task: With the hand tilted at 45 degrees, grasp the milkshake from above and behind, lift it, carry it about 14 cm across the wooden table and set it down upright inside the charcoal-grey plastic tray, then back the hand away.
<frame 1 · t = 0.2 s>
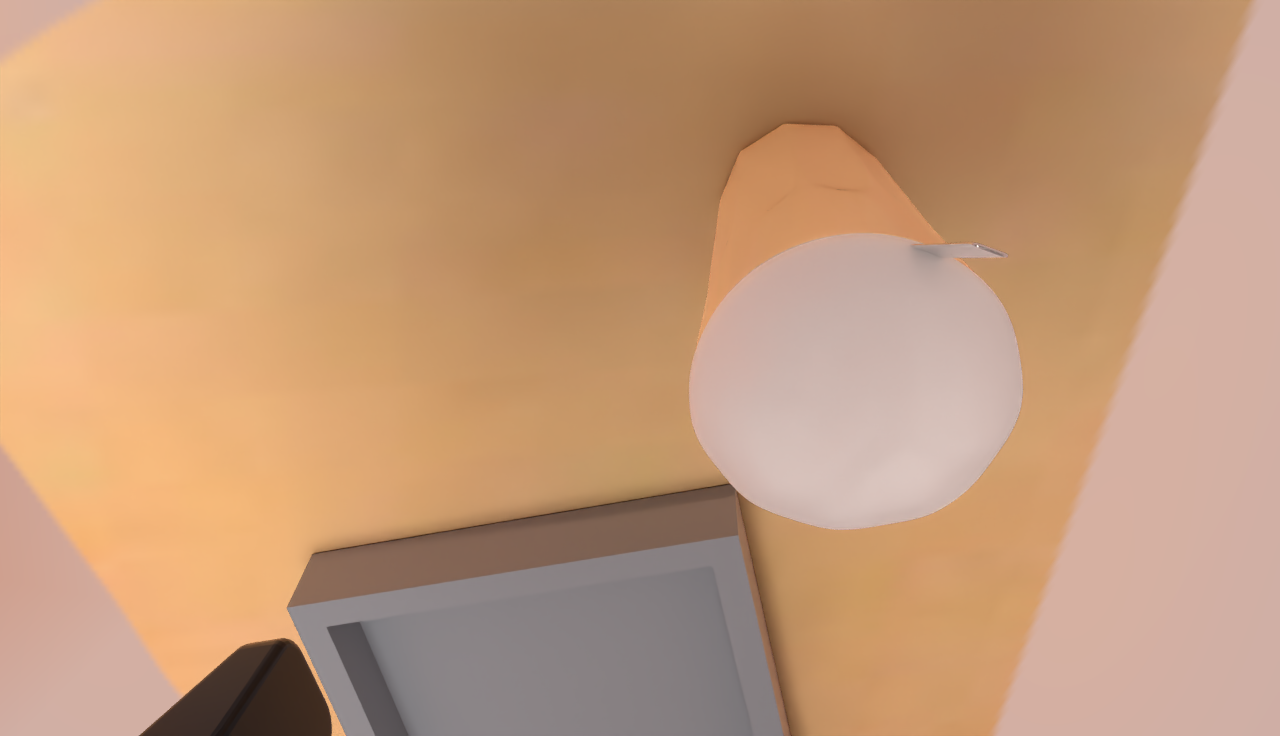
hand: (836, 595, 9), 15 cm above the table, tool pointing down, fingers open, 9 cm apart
milkshake: (809, 178, 23), on the table
tray: (572, 683, 29), on the table
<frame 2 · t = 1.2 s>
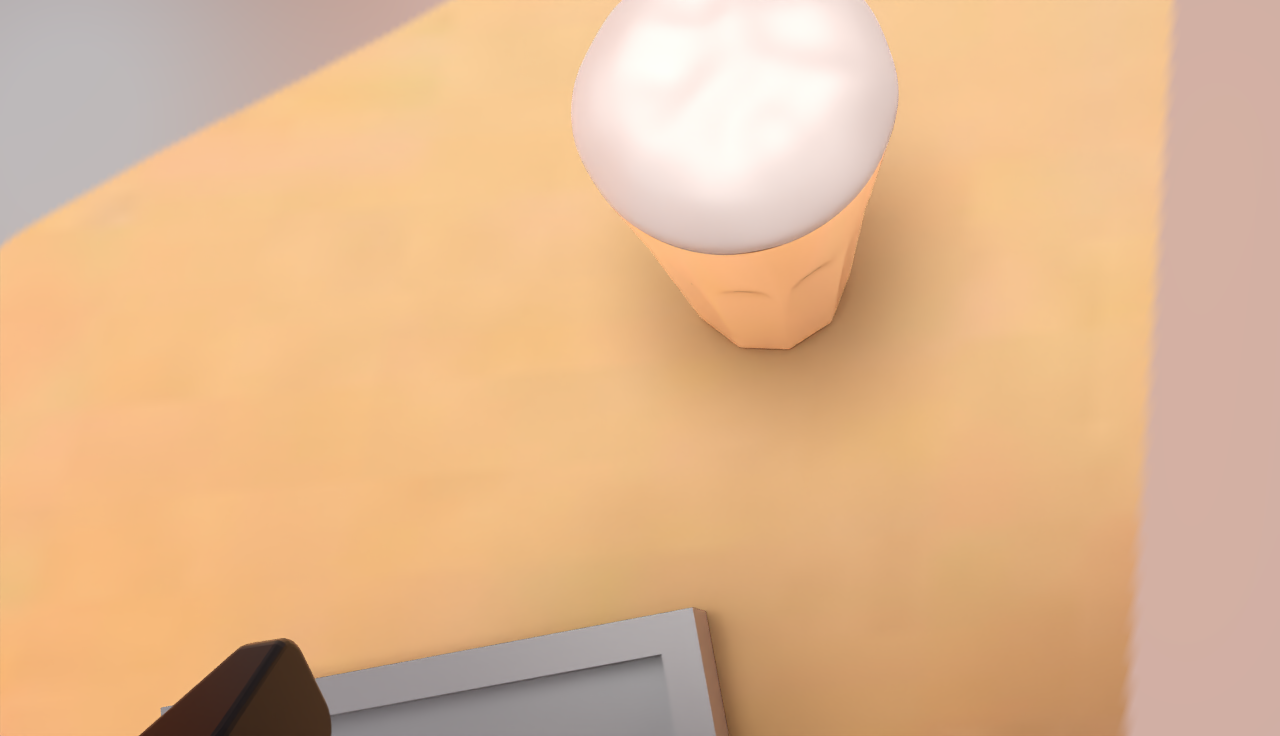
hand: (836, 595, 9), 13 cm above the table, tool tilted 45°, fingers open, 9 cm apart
milkshake: (776, 262, 24), on the table
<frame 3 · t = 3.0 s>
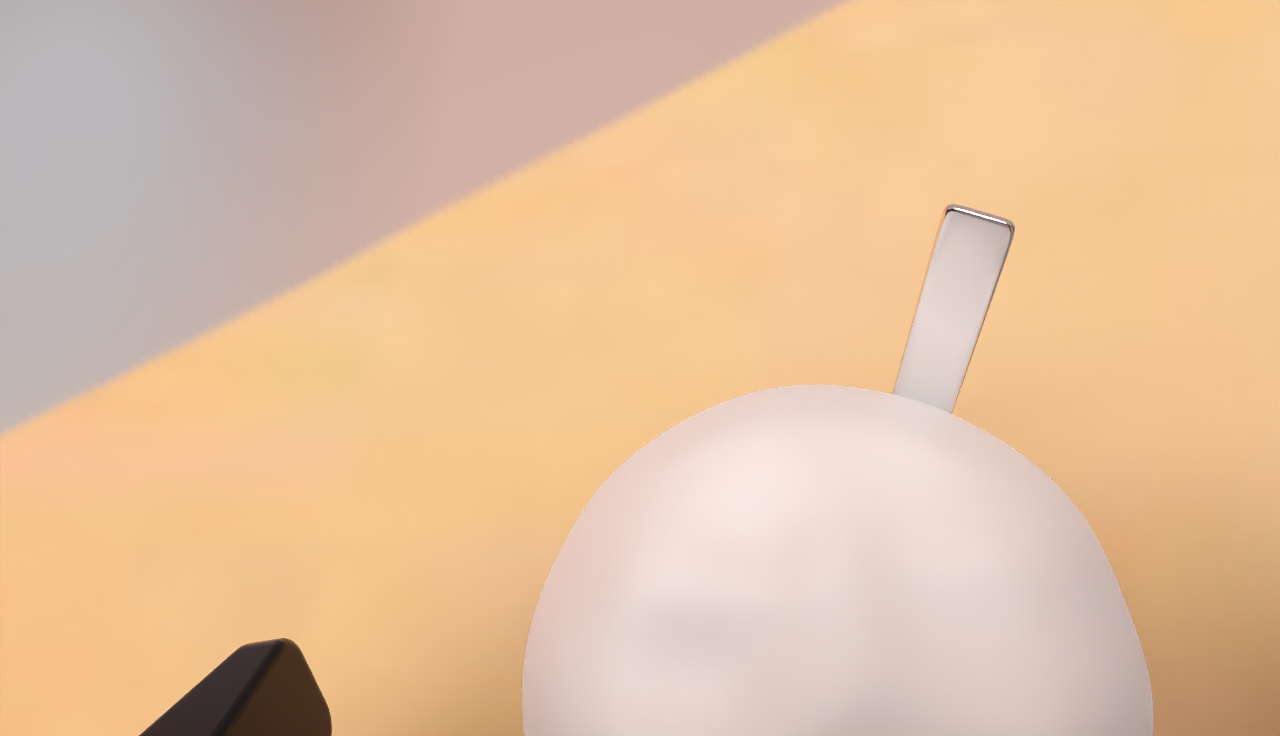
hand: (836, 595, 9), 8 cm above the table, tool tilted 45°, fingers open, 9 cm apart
milkshake: (848, 658, 16), on the table
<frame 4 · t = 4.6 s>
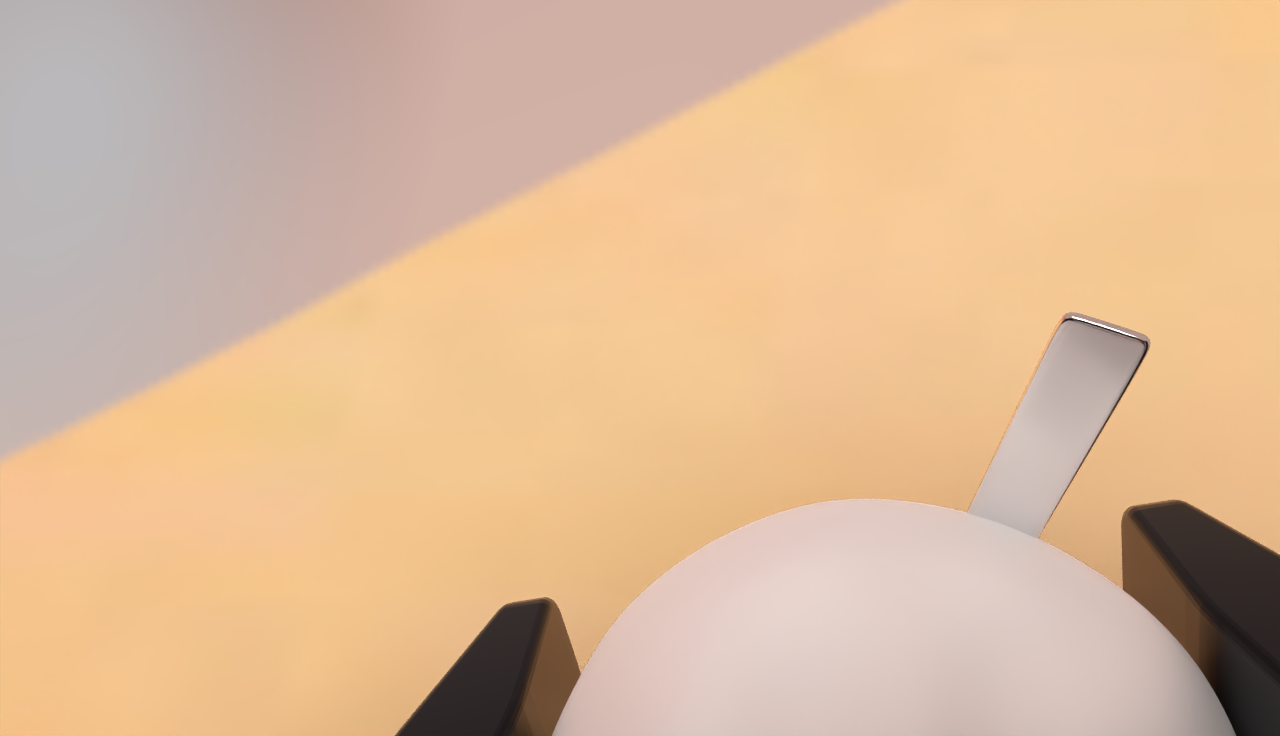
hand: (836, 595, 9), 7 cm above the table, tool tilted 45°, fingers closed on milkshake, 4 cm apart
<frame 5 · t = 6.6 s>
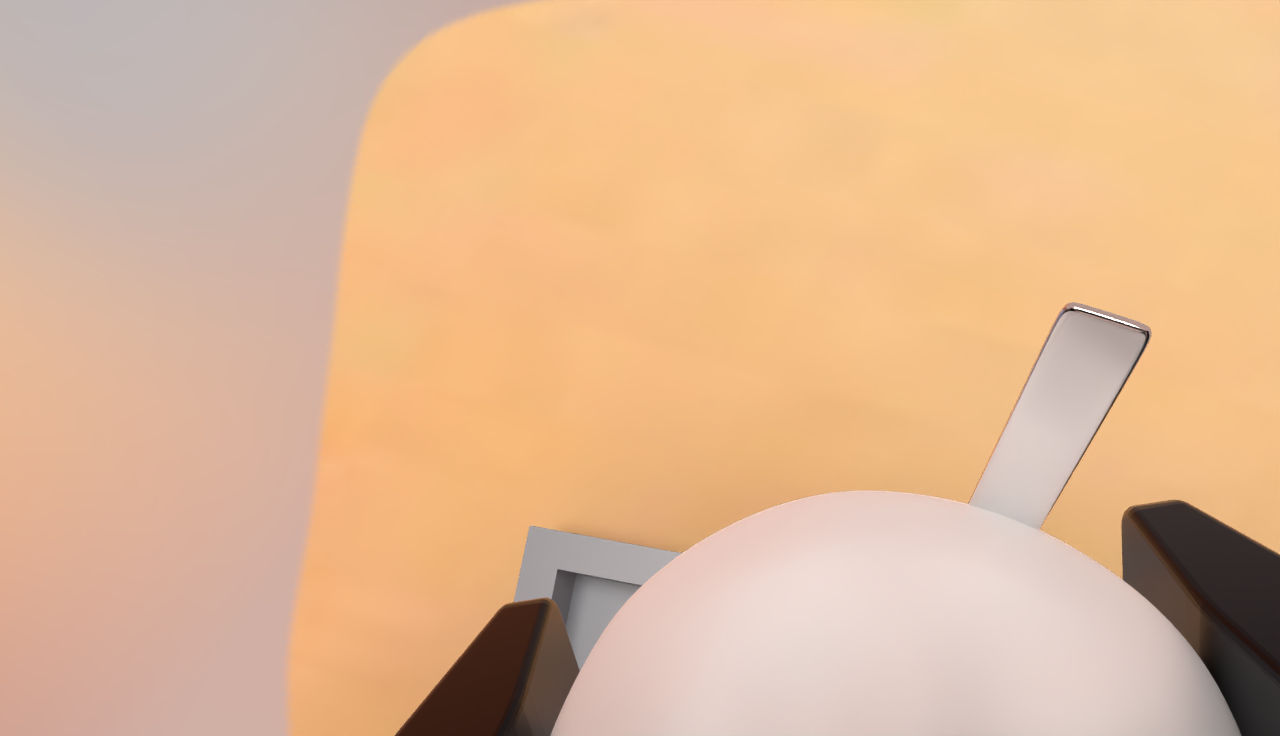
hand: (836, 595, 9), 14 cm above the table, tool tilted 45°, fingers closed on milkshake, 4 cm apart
milkshake: (865, 734, 15), point 7 cm above the table, touching gripper
when the fingers open (8 cm above the table, at t = 8.9 s): milkshake drops 1 cm, resting on tray.
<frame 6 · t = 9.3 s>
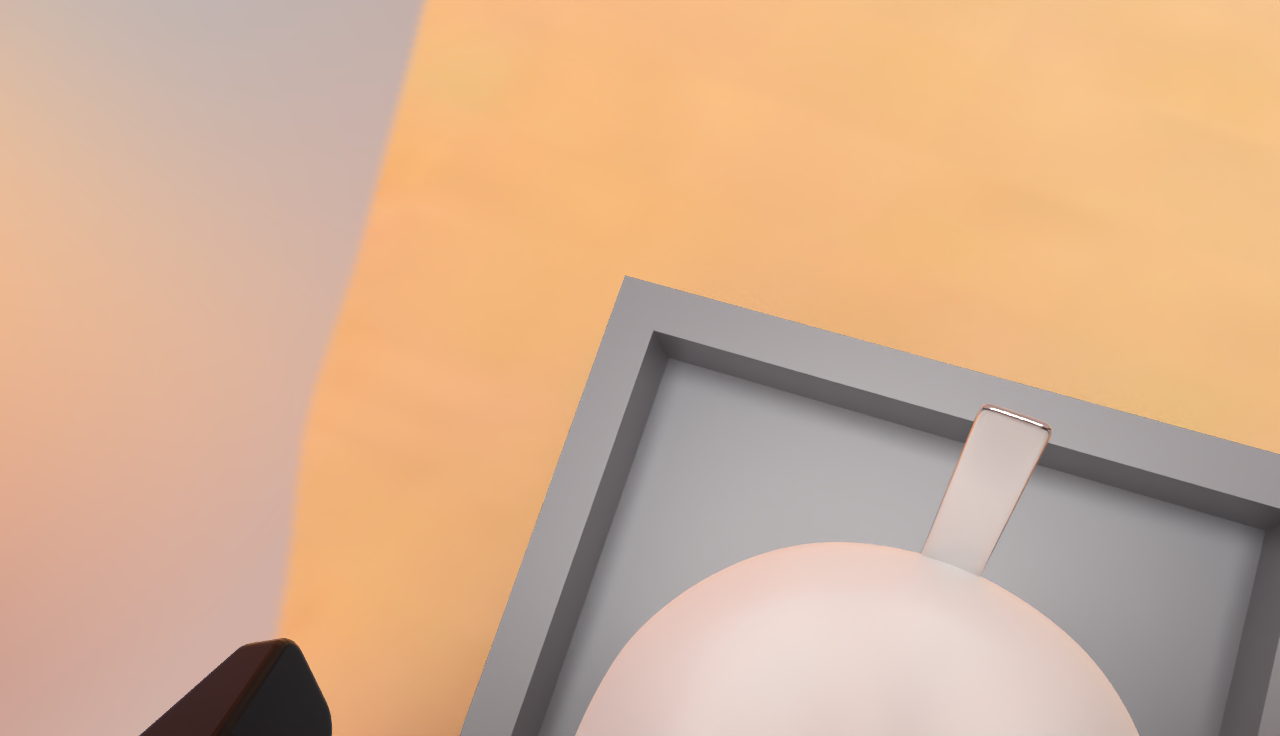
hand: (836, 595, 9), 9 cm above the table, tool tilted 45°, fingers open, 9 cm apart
tray: (861, 731, 17), on the table
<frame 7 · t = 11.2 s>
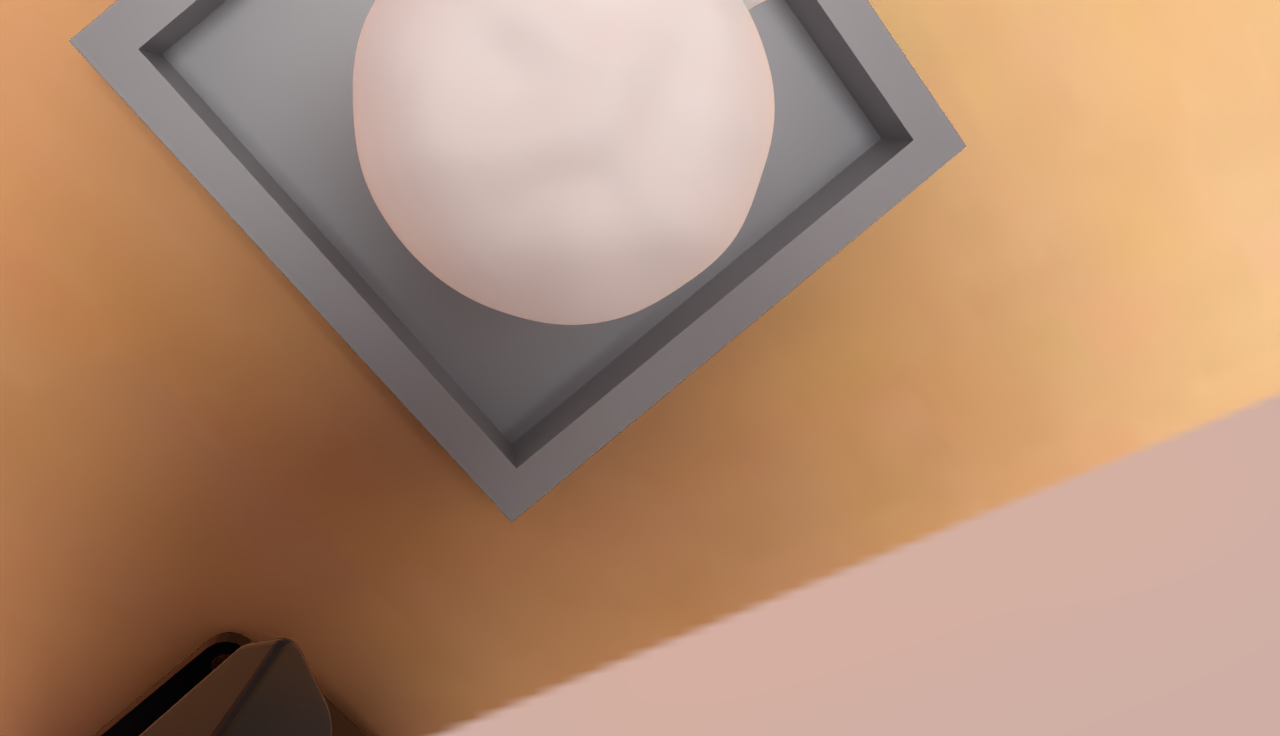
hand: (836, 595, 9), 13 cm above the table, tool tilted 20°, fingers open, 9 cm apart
milkshake: (538, 101, 20), resting on tray
tray: (540, 99, 20), on the table
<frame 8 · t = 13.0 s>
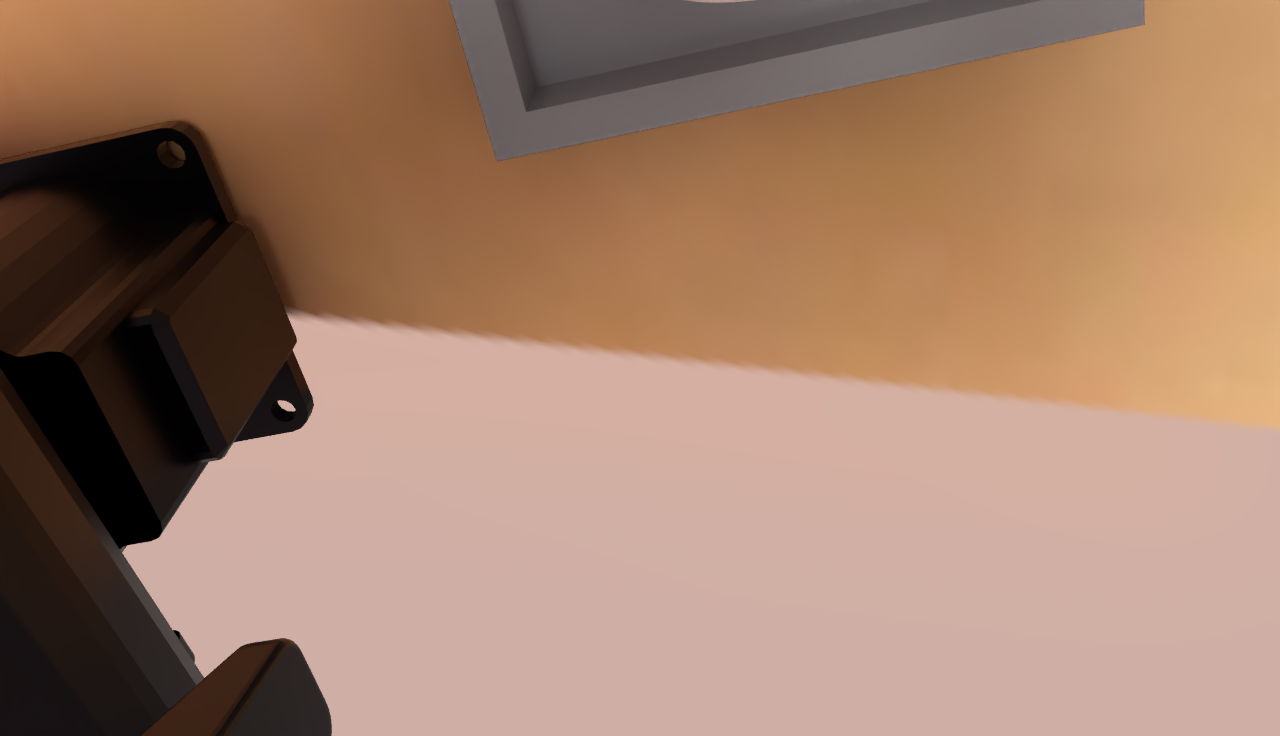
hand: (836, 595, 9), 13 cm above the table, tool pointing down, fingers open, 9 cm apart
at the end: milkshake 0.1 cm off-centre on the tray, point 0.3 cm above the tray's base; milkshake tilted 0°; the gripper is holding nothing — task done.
